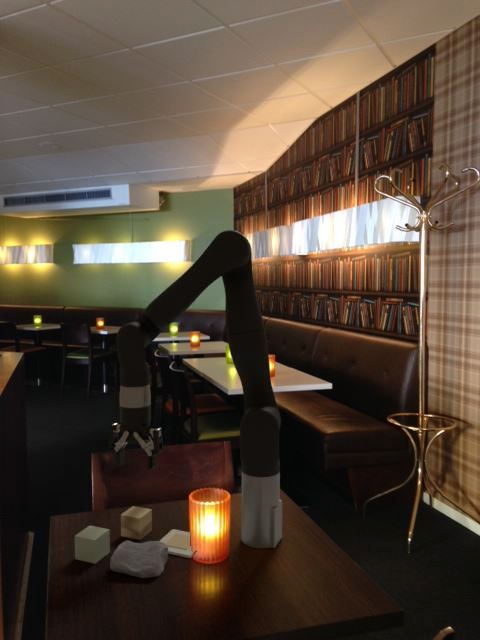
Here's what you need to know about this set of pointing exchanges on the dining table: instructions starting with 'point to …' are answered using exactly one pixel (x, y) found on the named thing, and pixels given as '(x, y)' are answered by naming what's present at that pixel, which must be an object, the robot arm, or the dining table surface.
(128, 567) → the stone block
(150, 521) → the maple cube
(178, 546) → the card
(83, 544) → the sage green cube
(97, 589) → the dining table surface
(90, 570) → the dining table surface
